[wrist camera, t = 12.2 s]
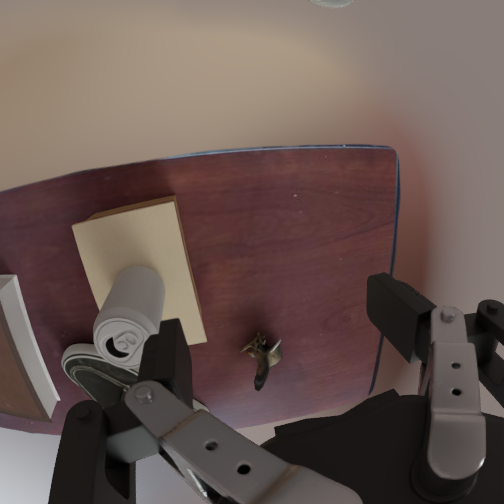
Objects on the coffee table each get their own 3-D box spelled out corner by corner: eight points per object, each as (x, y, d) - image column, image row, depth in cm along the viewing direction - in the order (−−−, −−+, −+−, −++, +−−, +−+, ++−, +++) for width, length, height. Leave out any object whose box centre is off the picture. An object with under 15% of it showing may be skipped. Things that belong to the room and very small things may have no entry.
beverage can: (105, 282, 35) (75, 337, 24) (143, 252, 35) (123, 301, 24) (138, 319, 38) (123, 382, 27) (177, 292, 37) (172, 352, 26)
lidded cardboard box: (91, 211, 40) (71, 225, 32) (178, 190, 41) (174, 201, 34) (127, 325, 47) (118, 356, 39) (205, 312, 48) (207, 341, 41)
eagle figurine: (225, 345, 49) (244, 387, 51) (252, 354, 44) (271, 399, 45) (259, 322, 54) (275, 363, 55) (287, 327, 48) (303, 372, 50)
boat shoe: (79, 324, 45) (60, 359, 36) (225, 402, 55) (232, 441, 46) (59, 362, 47) (42, 397, 38) (195, 430, 57) (197, 467, 48)
